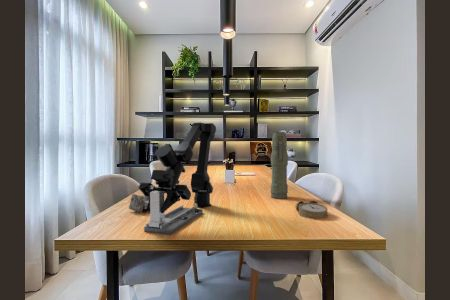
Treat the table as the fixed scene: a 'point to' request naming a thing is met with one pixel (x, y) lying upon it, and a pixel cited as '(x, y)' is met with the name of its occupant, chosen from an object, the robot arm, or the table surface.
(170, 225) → the rail
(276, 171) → the thermos
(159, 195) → the block
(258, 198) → the table surface
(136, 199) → the caster wheel
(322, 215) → the alarm clock
